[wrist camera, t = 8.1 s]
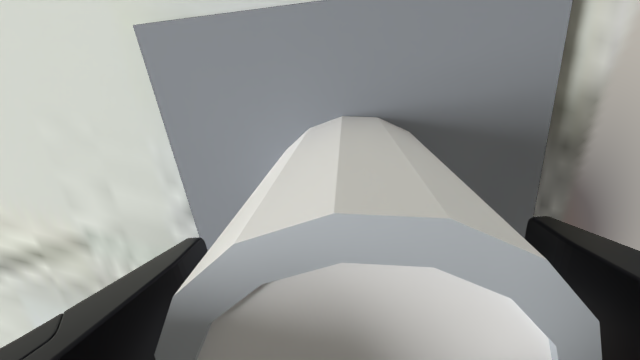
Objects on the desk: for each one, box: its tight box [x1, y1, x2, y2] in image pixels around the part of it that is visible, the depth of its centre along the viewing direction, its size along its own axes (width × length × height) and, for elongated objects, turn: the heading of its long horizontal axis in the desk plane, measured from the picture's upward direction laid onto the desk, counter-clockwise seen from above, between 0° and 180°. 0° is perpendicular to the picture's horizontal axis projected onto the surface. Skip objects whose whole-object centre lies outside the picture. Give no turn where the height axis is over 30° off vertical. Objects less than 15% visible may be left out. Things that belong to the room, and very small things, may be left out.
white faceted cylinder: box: [154, 116, 602, 360], centre depth 8 cm, size 7×7×7 cm
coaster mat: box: [133, 0, 573, 250], centre depth 12 cm, size 12×12×1 cm
